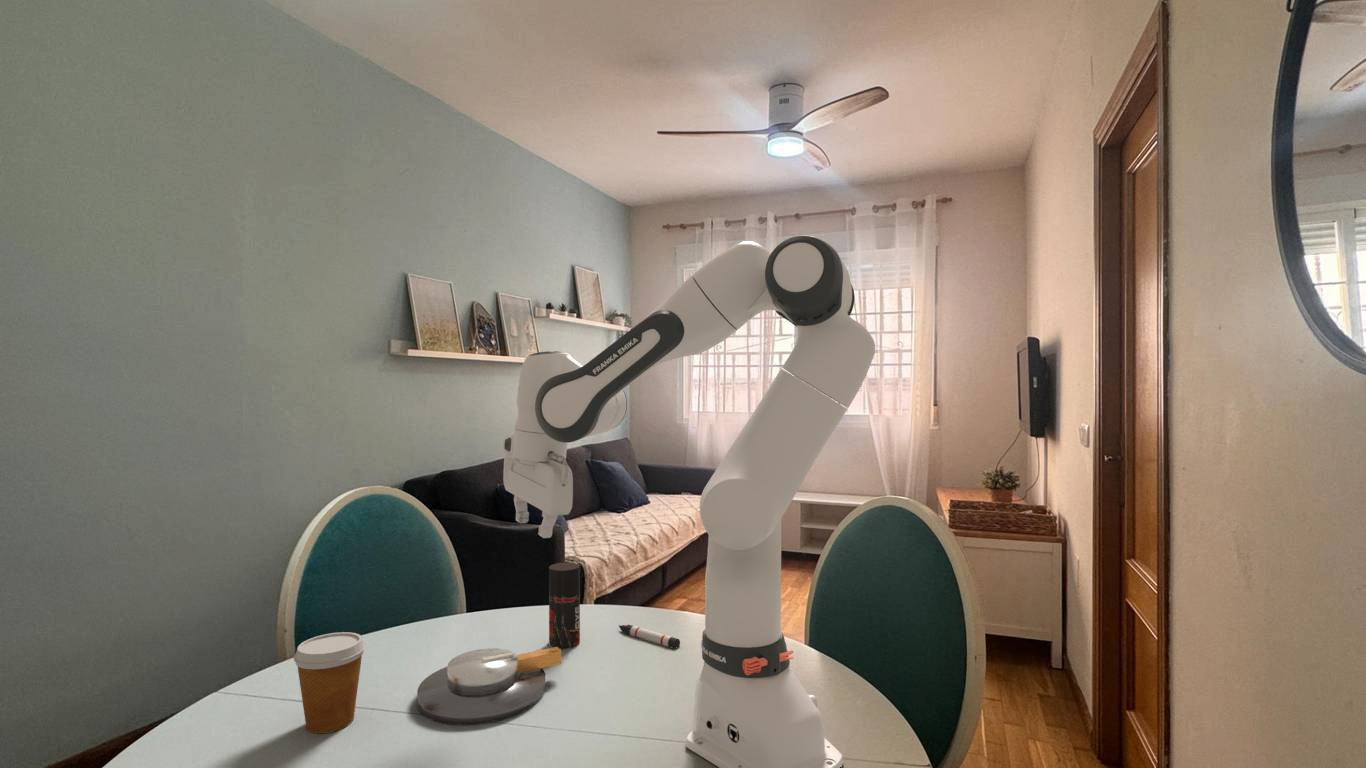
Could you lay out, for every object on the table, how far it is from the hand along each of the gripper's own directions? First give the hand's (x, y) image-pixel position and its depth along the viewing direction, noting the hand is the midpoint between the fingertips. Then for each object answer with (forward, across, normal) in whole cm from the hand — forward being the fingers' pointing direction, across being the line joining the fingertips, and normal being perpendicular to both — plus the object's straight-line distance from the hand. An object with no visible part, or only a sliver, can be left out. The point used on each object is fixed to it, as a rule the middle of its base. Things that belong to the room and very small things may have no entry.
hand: (532, 529), depth 111 cm
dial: (+24, 0, +3) cm, 24 cm away
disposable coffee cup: (+29, +4, +28) cm, 40 cm away
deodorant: (+27, +12, -14) cm, 33 cm away
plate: (+27, 0, +6) cm, 28 cm away
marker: (+26, +4, -28) cm, 39 cm away
